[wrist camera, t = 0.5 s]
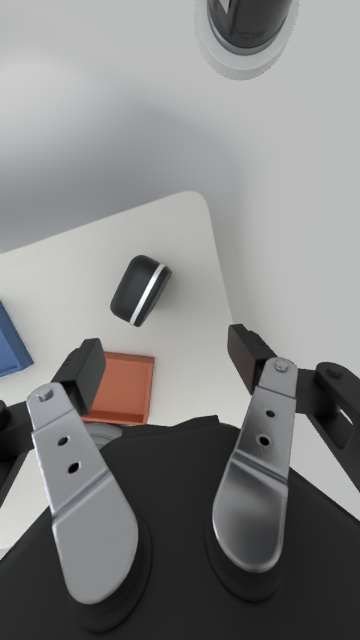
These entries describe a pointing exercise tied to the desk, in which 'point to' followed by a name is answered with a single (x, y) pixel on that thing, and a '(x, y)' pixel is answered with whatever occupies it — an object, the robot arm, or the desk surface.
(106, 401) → the terracotta tray
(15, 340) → the blue tray
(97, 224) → the desk surface
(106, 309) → the desk surface
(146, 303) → the battery charger
